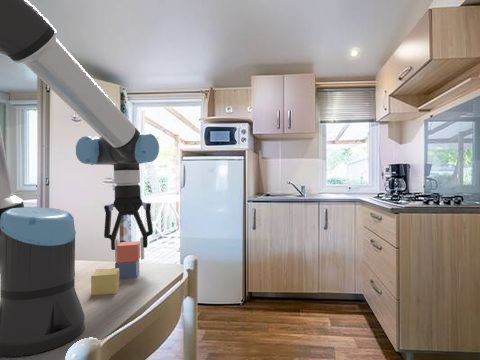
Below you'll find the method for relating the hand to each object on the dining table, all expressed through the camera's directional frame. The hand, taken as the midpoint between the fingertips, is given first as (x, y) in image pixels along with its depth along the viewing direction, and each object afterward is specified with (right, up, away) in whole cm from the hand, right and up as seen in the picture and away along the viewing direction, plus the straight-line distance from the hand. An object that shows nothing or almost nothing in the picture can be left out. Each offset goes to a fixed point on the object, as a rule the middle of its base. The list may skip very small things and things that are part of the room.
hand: (130, 259), depth 98 cm
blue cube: (-1, -5, 0) cm, 5 cm away
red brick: (0, 0, 0) cm, 0 cm away
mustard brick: (-2, -5, -14) cm, 15 cm away
